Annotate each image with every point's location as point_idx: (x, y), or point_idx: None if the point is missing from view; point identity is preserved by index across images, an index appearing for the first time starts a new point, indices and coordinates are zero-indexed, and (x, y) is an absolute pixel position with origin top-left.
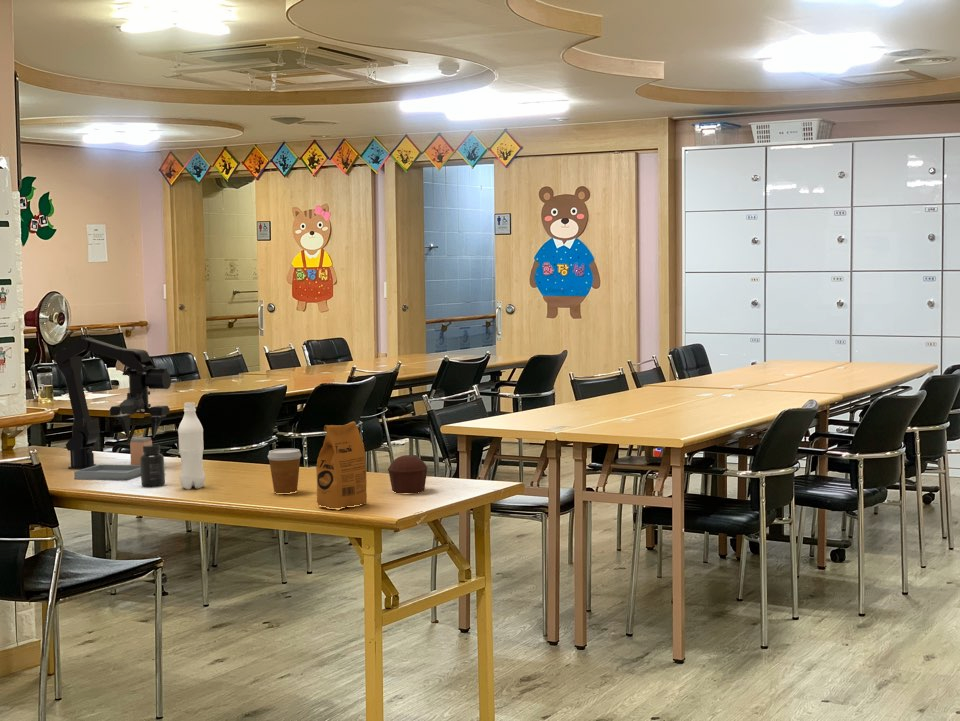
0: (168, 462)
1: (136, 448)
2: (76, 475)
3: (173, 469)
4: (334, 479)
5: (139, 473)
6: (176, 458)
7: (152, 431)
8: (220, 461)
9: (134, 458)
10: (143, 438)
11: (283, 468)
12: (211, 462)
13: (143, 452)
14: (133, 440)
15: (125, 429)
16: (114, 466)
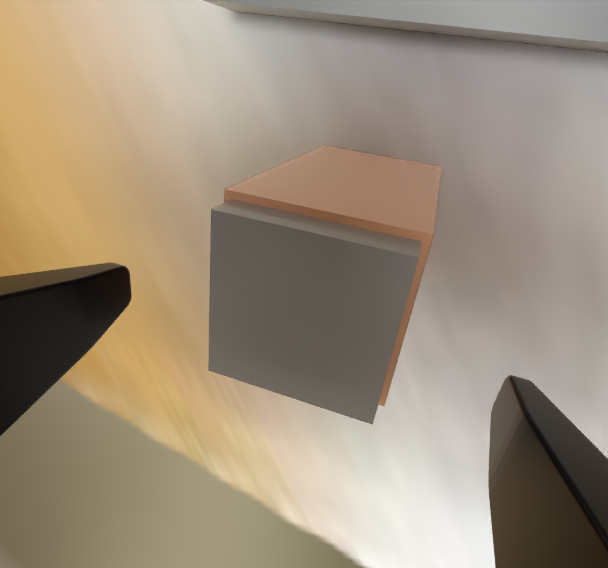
0: (296, 420)
1: (351, 193)
2: None
3: (157, 175)
4: None
5: None
6: (305, 516)
7: (39, 279)
8: (77, 387)
9: (397, 178)
10: (254, 300)
11: None
12: (97, 371)
13: (283, 169)
14: (374, 239)
15: (567, 463)
16: (584, 2)
